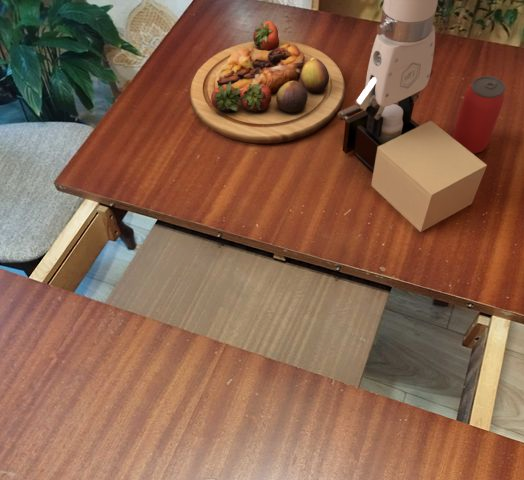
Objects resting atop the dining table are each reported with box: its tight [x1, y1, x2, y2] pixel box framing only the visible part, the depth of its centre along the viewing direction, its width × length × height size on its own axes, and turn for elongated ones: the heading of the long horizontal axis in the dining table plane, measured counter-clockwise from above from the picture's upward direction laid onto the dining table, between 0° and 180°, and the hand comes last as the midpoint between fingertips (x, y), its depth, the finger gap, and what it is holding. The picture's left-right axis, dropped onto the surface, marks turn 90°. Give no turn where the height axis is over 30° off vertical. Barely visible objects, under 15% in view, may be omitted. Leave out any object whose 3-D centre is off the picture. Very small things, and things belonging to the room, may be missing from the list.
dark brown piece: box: [337, 103, 421, 174], centre depth 99 cm, size 17×10×7 cm, turn 32°
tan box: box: [370, 120, 487, 233], centre depth 93 cm, size 14×12×9 cm
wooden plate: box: [189, 20, 346, 144], centre depth 109 cm, size 32×32×8 cm
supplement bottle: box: [376, 103, 403, 144], centre depth 96 cm, size 5×5×8 cm
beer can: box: [451, 75, 506, 155], centre depth 97 cm, size 7×7×12 cm
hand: (388, 125), depth 95 cm, fingers open, 5 cm apart
